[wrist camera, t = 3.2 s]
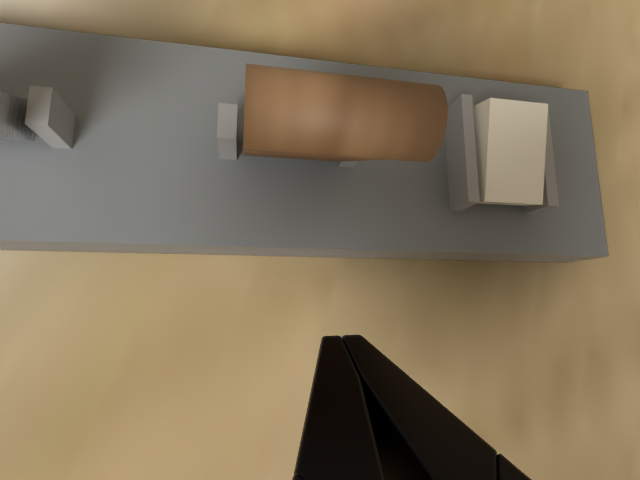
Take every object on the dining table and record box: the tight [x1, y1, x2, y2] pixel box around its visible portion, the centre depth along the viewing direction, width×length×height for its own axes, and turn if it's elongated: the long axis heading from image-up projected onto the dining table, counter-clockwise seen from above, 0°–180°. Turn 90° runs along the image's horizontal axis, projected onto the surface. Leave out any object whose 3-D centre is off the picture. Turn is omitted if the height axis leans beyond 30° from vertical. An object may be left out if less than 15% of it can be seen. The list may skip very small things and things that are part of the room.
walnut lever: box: [243, 64, 448, 162], centre depth 14 cm, size 2×4×12 cm, turn 90°
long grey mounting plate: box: [0, 23, 609, 263], centre depth 20 cm, size 10×36×5 cm, turn 90°
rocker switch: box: [474, 98, 548, 206], centre depth 21 cm, size 5×3×1 cm, turn 0°
